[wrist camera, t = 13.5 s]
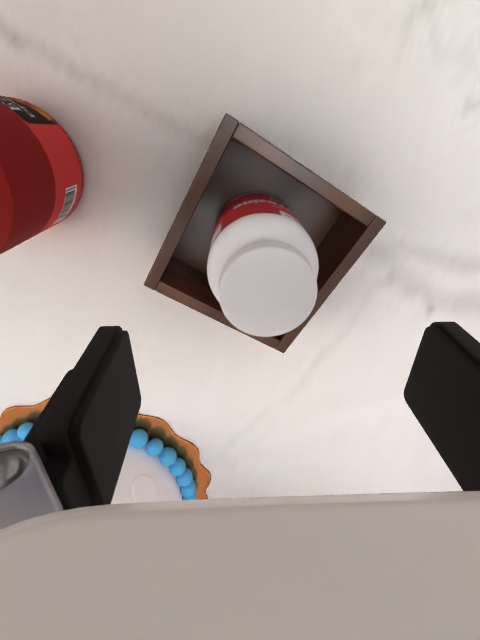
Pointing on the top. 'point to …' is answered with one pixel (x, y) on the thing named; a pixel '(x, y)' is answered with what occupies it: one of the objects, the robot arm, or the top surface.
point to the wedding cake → (136, 459)
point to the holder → (269, 177)
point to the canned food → (34, 172)
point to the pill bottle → (262, 265)
